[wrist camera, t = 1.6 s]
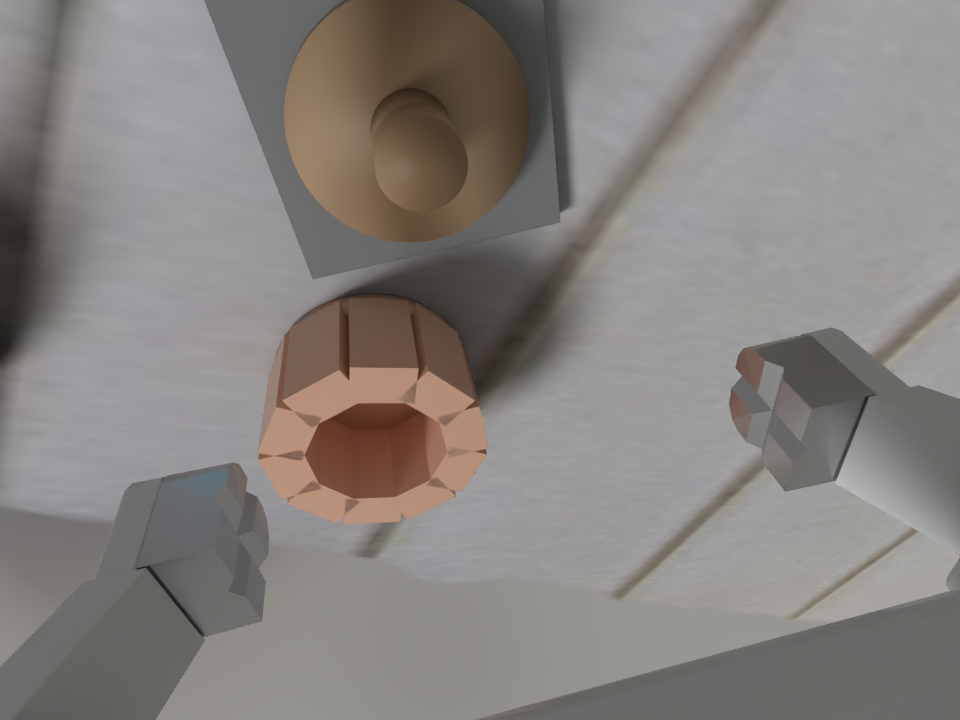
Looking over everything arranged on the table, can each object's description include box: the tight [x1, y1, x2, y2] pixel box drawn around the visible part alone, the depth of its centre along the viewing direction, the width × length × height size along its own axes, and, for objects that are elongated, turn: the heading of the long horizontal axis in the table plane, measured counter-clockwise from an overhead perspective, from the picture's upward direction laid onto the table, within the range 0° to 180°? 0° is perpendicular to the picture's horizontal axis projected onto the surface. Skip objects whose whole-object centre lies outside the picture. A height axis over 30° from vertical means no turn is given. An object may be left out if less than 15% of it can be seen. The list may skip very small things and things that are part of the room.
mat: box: [204, 0, 560, 279], centre depth 25 cm, size 12×12×1 cm
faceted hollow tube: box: [258, 294, 488, 524], centre depth 31 cm, size 10×11×6 cm
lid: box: [284, 0, 530, 243], centre depth 23 cm, size 10×10×5 cm
